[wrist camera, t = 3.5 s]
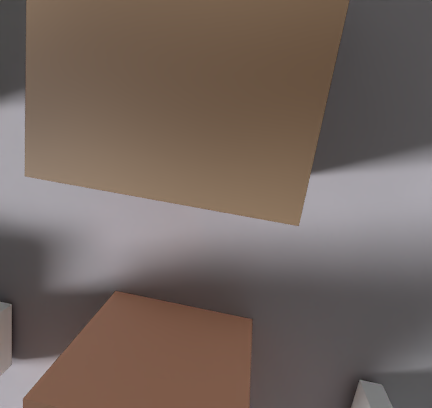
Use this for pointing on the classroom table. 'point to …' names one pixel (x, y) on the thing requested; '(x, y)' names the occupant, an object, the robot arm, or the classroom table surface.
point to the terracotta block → (151, 359)
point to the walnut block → (181, 98)
